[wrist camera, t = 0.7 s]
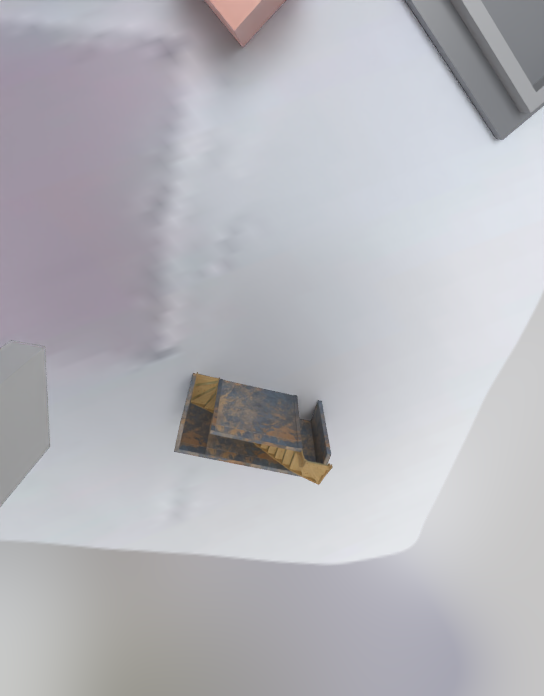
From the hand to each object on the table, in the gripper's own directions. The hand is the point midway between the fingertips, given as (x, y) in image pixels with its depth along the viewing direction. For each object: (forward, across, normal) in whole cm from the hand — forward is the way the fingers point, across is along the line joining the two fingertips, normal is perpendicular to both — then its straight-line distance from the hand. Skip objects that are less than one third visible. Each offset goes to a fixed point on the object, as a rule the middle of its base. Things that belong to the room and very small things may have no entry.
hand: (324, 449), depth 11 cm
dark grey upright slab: (+28, -3, -16) cm, 33 cm away
